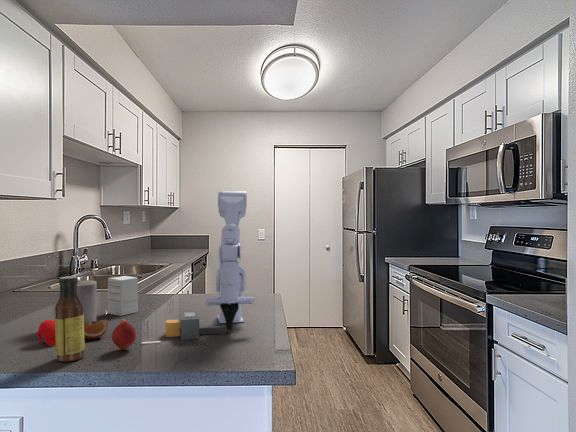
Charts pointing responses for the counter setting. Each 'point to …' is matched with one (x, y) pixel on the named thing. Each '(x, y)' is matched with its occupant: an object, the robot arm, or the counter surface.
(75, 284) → the sauce bottle
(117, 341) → the red rounded lump
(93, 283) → the pillar candle
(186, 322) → the housing
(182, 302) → the counter surface
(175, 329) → the orange and grey bar
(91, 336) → the fruit slice
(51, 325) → the cap
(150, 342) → the white slender bar
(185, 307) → the counter surface
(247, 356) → the counter surface
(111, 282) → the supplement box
